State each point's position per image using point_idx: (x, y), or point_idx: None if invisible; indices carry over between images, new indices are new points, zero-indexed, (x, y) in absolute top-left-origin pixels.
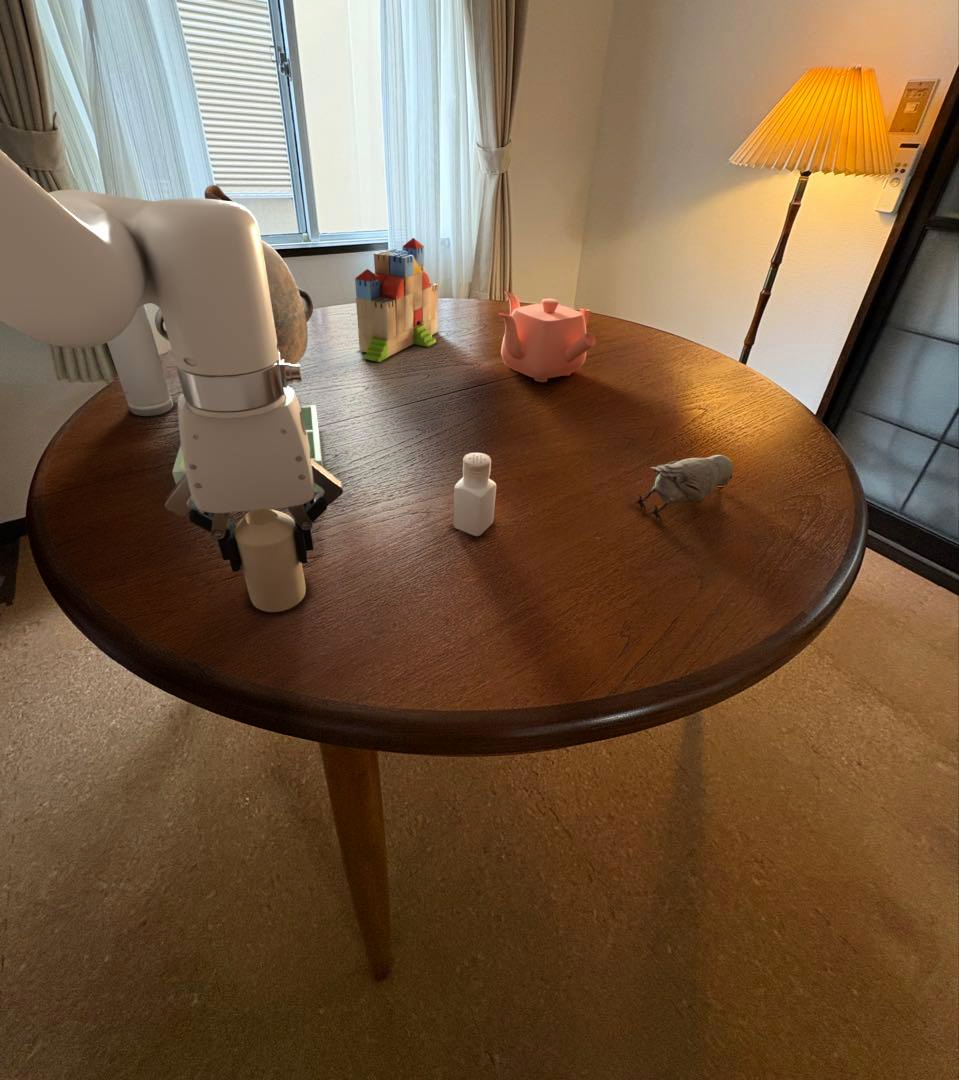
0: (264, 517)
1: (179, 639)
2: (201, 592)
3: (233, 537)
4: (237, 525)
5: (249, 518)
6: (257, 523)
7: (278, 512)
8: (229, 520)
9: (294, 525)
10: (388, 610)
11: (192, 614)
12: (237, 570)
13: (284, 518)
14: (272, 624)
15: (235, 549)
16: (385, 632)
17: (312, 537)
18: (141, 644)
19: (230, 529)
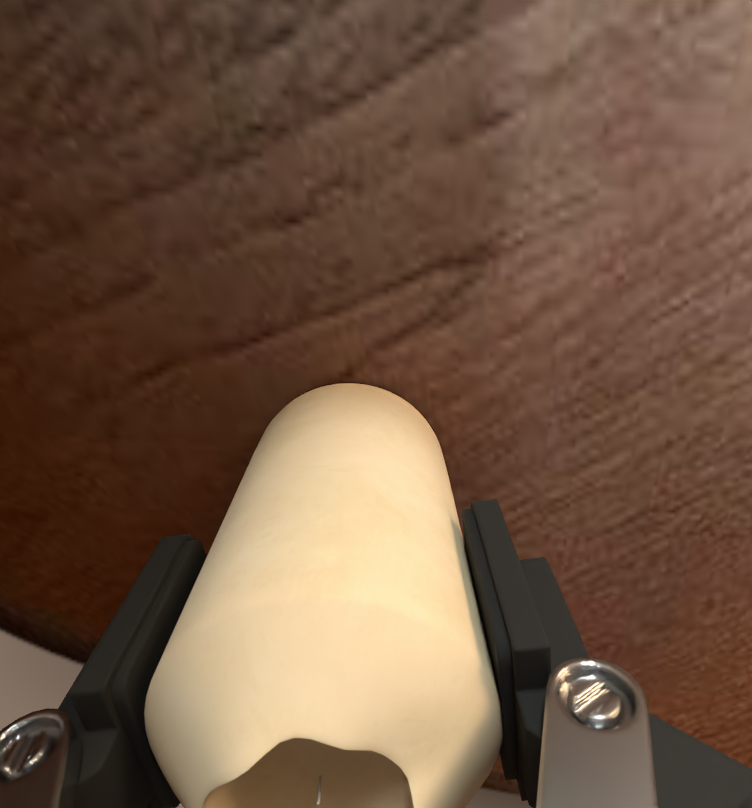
0: (314, 741)
1: (112, 612)
2: (83, 439)
3: None
4: (162, 768)
5: (225, 791)
6: (286, 793)
7: (404, 725)
8: (99, 782)
9: (501, 729)
10: (705, 553)
11: (102, 531)
12: None
13: (455, 784)
14: None
15: None
16: (675, 627)
17: (551, 573)
18: (20, 620)
19: (134, 783)
